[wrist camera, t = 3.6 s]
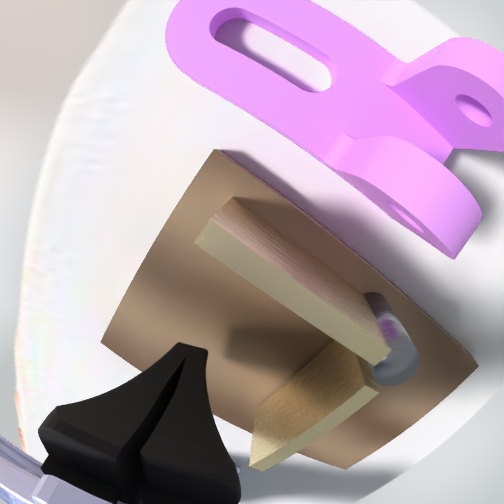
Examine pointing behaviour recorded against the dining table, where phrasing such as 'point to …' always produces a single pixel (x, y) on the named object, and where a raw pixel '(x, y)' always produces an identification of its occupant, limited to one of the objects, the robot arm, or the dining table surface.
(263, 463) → the swing leaf
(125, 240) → the dining table surface
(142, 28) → the dining table surface
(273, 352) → the walnut board
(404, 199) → the bracket
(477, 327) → the dining table surface
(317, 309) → the fixed leaf
